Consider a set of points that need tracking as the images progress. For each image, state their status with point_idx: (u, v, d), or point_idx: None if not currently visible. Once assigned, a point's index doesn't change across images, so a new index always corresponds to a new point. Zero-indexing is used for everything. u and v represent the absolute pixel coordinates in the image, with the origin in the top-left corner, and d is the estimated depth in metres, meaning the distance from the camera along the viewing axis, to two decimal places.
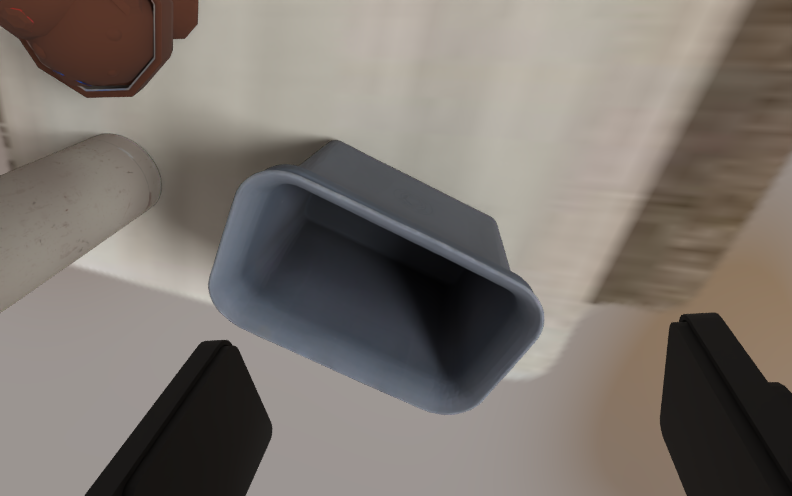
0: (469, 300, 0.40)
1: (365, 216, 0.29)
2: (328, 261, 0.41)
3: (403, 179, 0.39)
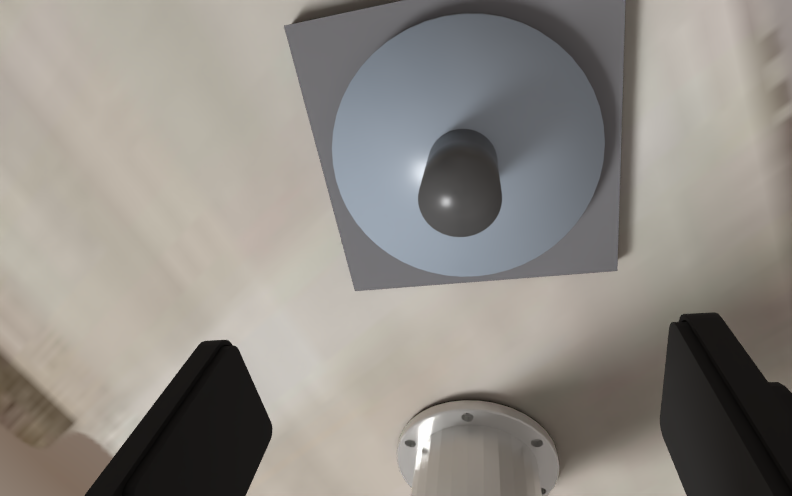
0: None
1: None
2: None
3: None
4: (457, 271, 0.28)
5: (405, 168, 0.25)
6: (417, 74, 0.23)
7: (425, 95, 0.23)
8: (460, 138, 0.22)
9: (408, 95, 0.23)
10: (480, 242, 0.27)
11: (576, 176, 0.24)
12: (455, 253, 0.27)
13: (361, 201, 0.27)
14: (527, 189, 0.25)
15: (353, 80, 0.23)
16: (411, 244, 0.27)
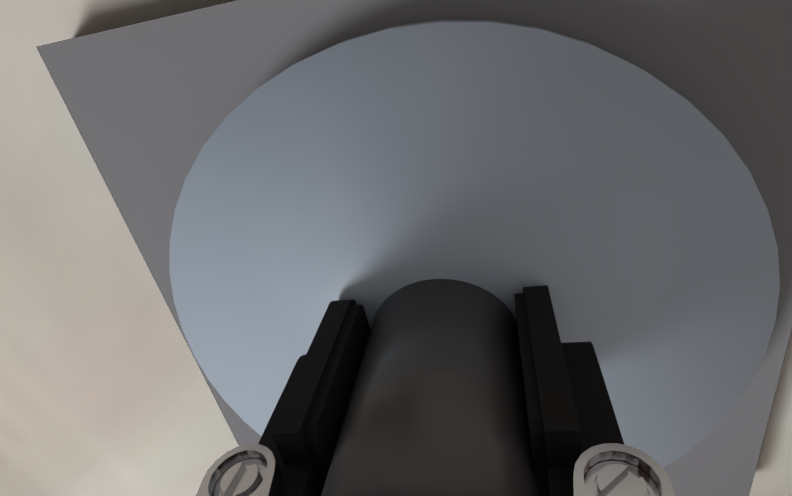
0: None
1: None
2: None
3: None
4: None
5: None
6: (333, 166, 0.10)
7: (356, 210, 0.10)
8: (435, 331, 0.09)
9: (318, 209, 0.10)
10: None
11: (696, 378, 0.11)
12: None
13: (248, 391, 0.13)
14: None
15: (191, 175, 0.10)
16: None
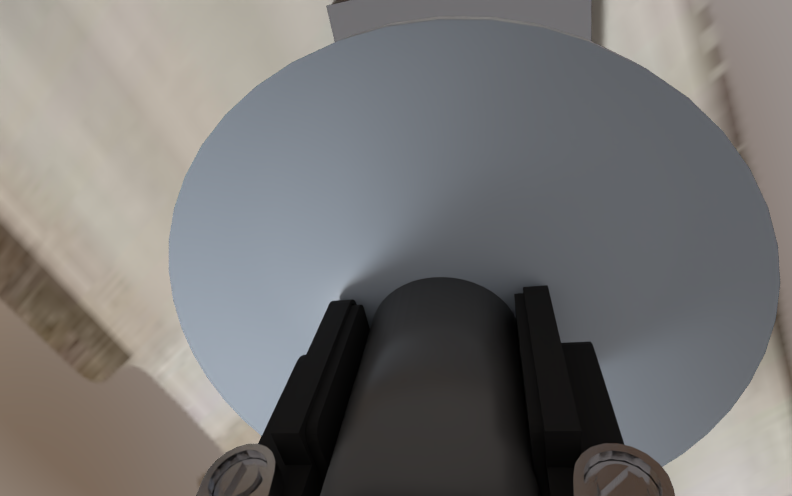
0: None
1: None
2: None
3: None
4: None
5: None
6: (333, 163, 0.10)
7: (355, 208, 0.10)
8: (434, 328, 0.09)
9: (318, 207, 0.10)
10: None
11: (696, 376, 0.11)
12: None
13: (248, 389, 0.13)
14: None
15: (191, 173, 0.10)
16: None
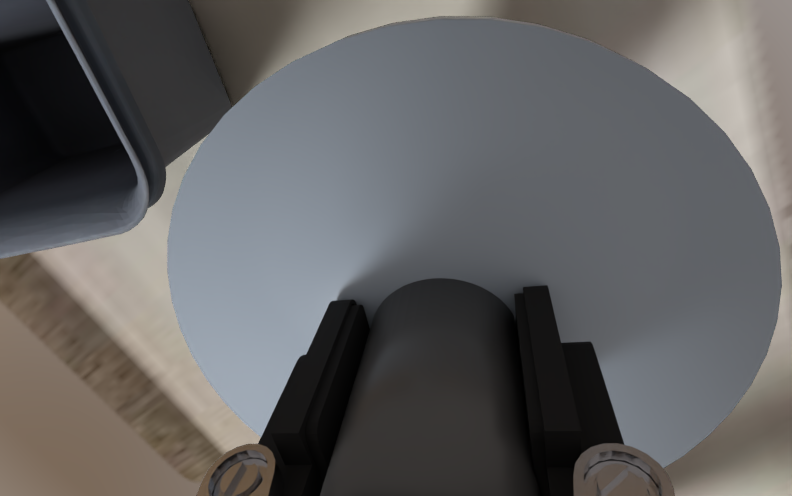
0: None
1: (50, 230, 0.25)
2: None
3: None
4: None
5: None
6: (332, 164, 0.10)
7: (355, 209, 0.10)
8: (434, 330, 0.09)
9: (317, 207, 0.10)
10: None
11: (697, 377, 0.11)
12: None
13: (247, 391, 0.13)
14: None
15: (189, 173, 0.10)
16: None
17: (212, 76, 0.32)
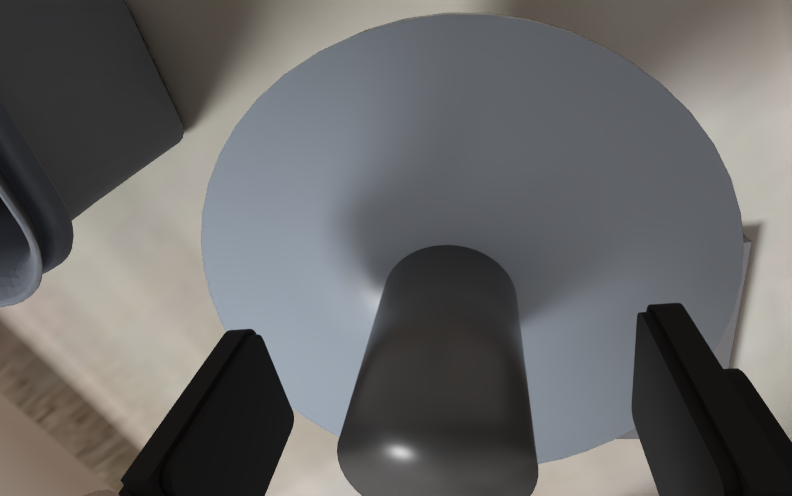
0: None
1: None
2: None
3: None
4: None
5: (342, 307, 0.13)
6: (351, 142, 0.11)
7: (370, 182, 0.11)
8: (441, 285, 0.10)
9: (337, 181, 0.11)
10: None
11: None
12: None
13: (269, 353, 0.15)
14: (574, 350, 0.13)
15: (224, 151, 0.12)
16: None
17: (156, 92, 0.26)
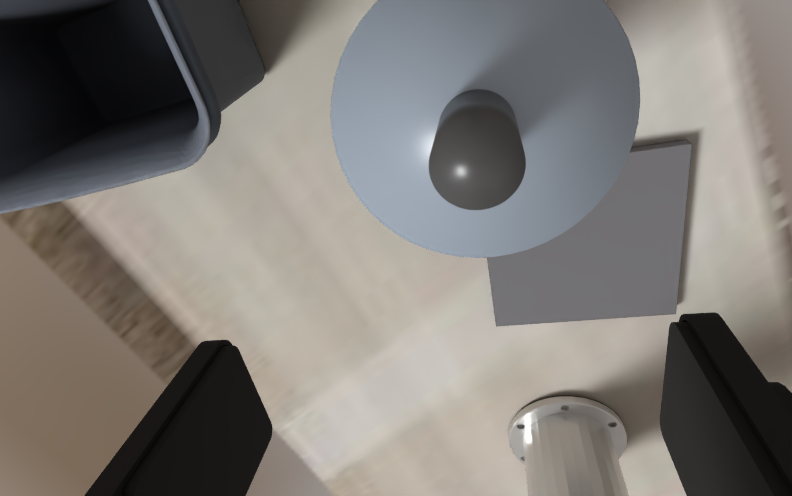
0: (17, 73, 0.35)
1: (120, 170, 0.29)
2: None
3: None
4: (472, 252, 0.25)
5: (413, 137, 0.23)
6: (425, 27, 0.20)
7: (434, 51, 0.21)
8: (475, 98, 0.20)
9: (415, 52, 0.21)
10: (497, 219, 0.24)
11: (606, 140, 0.21)
12: (470, 232, 0.25)
13: (365, 176, 0.24)
14: (550, 157, 0.22)
15: (352, 36, 0.21)
16: (421, 223, 0.25)
17: (248, 41, 0.35)
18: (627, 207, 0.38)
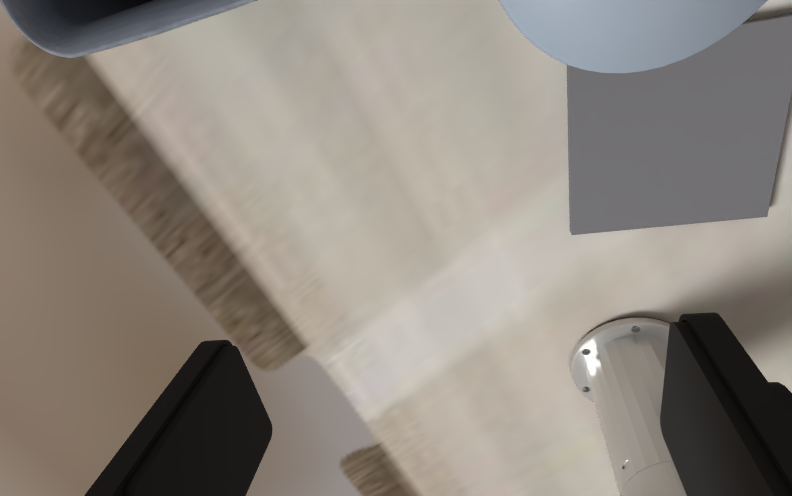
0: None
1: None
2: None
3: None
4: (618, 66, 0.23)
5: None
6: None
7: None
8: None
9: None
10: (654, 20, 0.22)
11: None
12: (620, 39, 0.23)
13: None
14: None
15: None
16: (566, 30, 0.23)
17: None
18: (728, 90, 0.36)
